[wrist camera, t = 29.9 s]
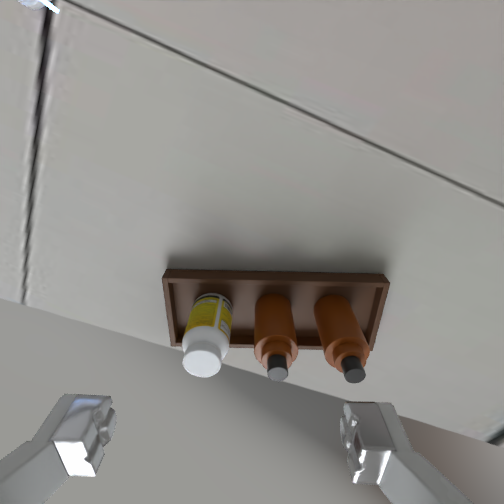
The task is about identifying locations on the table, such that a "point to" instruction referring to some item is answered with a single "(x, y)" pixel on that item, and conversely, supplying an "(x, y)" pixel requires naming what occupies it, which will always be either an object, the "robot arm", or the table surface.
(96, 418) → the robot arm
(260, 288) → the tray
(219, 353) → the pill bottle
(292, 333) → the amber bottle middle
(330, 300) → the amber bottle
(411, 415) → the table surface
